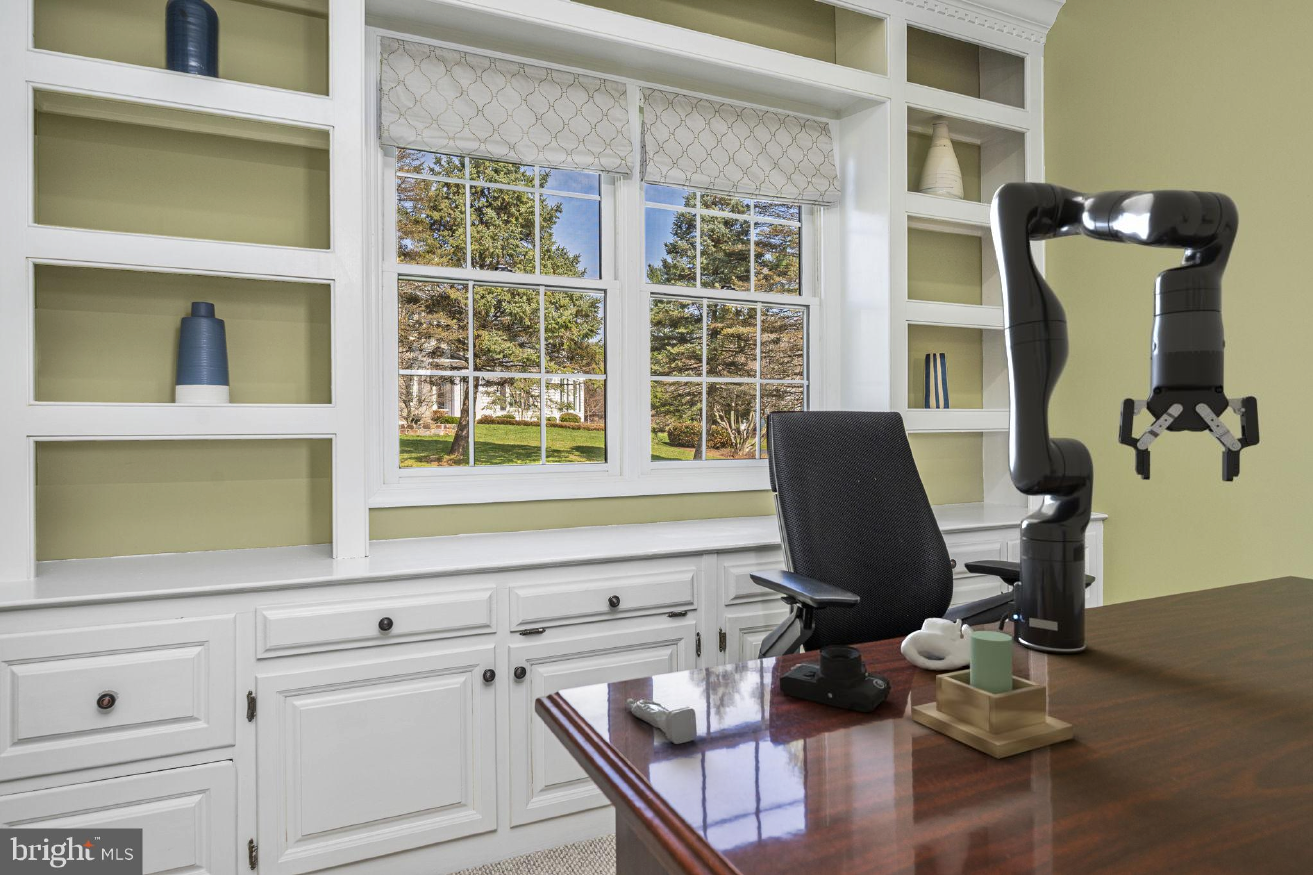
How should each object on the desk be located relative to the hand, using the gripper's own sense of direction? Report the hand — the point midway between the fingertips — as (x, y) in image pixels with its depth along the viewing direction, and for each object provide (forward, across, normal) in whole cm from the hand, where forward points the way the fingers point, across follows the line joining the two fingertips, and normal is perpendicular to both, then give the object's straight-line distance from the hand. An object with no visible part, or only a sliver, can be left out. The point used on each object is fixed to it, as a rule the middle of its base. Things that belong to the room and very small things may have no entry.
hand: (1185, 480), depth 94 cm
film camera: (+28, +40, +17) cm, 52 cm away
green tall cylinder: (+26, +22, +20) cm, 39 cm away
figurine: (+28, +57, +36) cm, 73 cm away
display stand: (+28, +22, +20) cm, 41 cm away
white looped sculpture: (+28, +28, -3) cm, 40 cm away
